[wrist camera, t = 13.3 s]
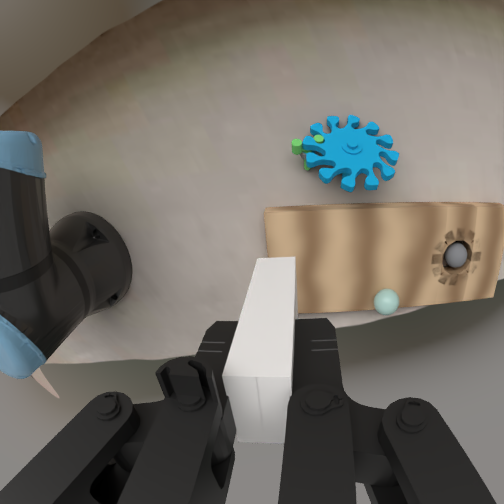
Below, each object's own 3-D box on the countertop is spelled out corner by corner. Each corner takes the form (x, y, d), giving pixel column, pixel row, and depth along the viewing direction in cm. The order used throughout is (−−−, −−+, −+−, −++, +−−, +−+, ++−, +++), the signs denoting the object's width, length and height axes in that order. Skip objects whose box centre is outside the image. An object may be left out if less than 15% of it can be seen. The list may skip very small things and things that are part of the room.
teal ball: (370, 307, 37) (375, 321, 34) (372, 284, 36) (377, 297, 33) (394, 305, 36) (400, 319, 33) (396, 283, 35) (404, 296, 32)
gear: (398, 120, 29) (401, 193, 25) (388, 154, 34) (386, 224, 31) (300, 103, 31) (282, 171, 28) (300, 139, 37) (285, 205, 33)
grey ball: (457, 263, 35) (439, 264, 35) (459, 239, 35) (441, 240, 35) (470, 269, 32) (451, 271, 32) (472, 245, 32) (454, 245, 32)
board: (274, 303, 41) (272, 314, 39) (265, 207, 36) (263, 213, 34) (485, 289, 36) (493, 297, 34) (499, 202, 31) (509, 207, 29)
